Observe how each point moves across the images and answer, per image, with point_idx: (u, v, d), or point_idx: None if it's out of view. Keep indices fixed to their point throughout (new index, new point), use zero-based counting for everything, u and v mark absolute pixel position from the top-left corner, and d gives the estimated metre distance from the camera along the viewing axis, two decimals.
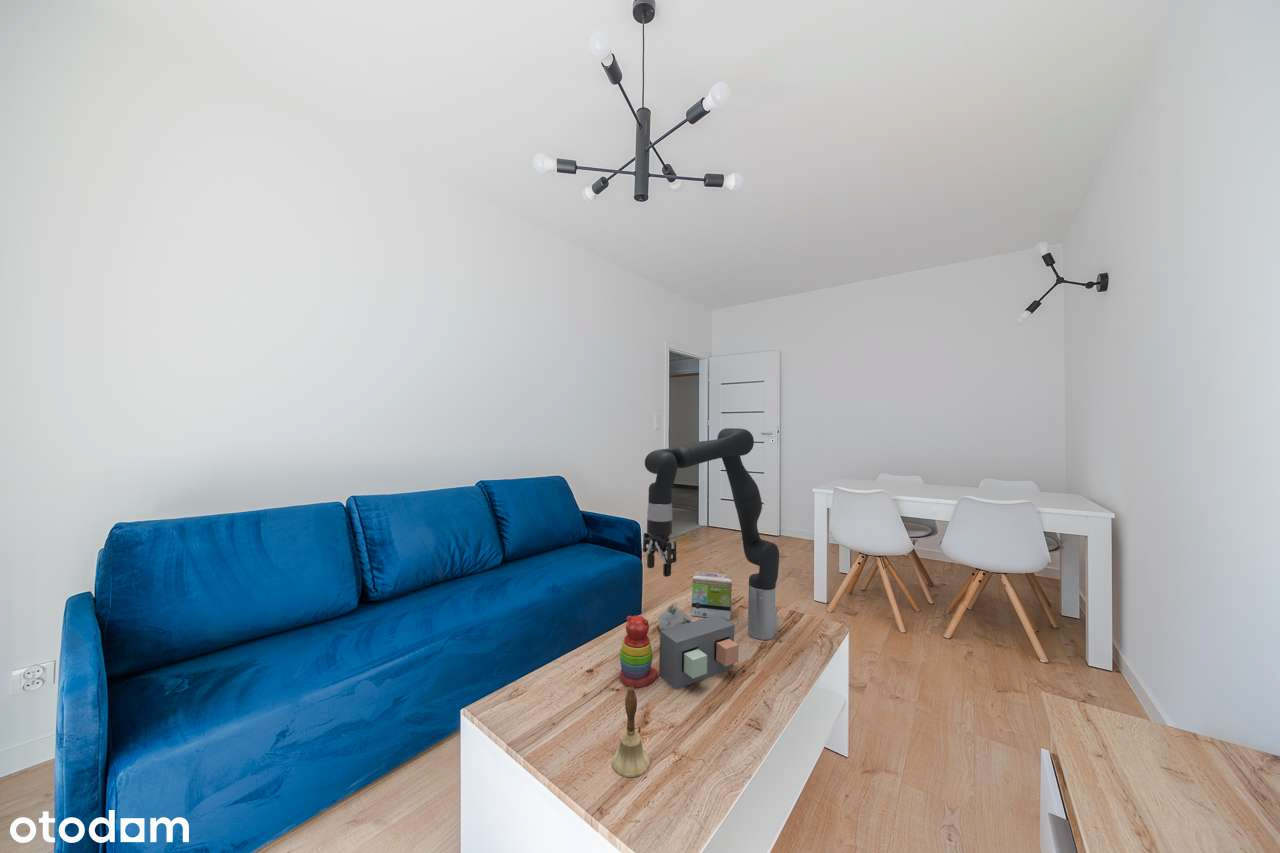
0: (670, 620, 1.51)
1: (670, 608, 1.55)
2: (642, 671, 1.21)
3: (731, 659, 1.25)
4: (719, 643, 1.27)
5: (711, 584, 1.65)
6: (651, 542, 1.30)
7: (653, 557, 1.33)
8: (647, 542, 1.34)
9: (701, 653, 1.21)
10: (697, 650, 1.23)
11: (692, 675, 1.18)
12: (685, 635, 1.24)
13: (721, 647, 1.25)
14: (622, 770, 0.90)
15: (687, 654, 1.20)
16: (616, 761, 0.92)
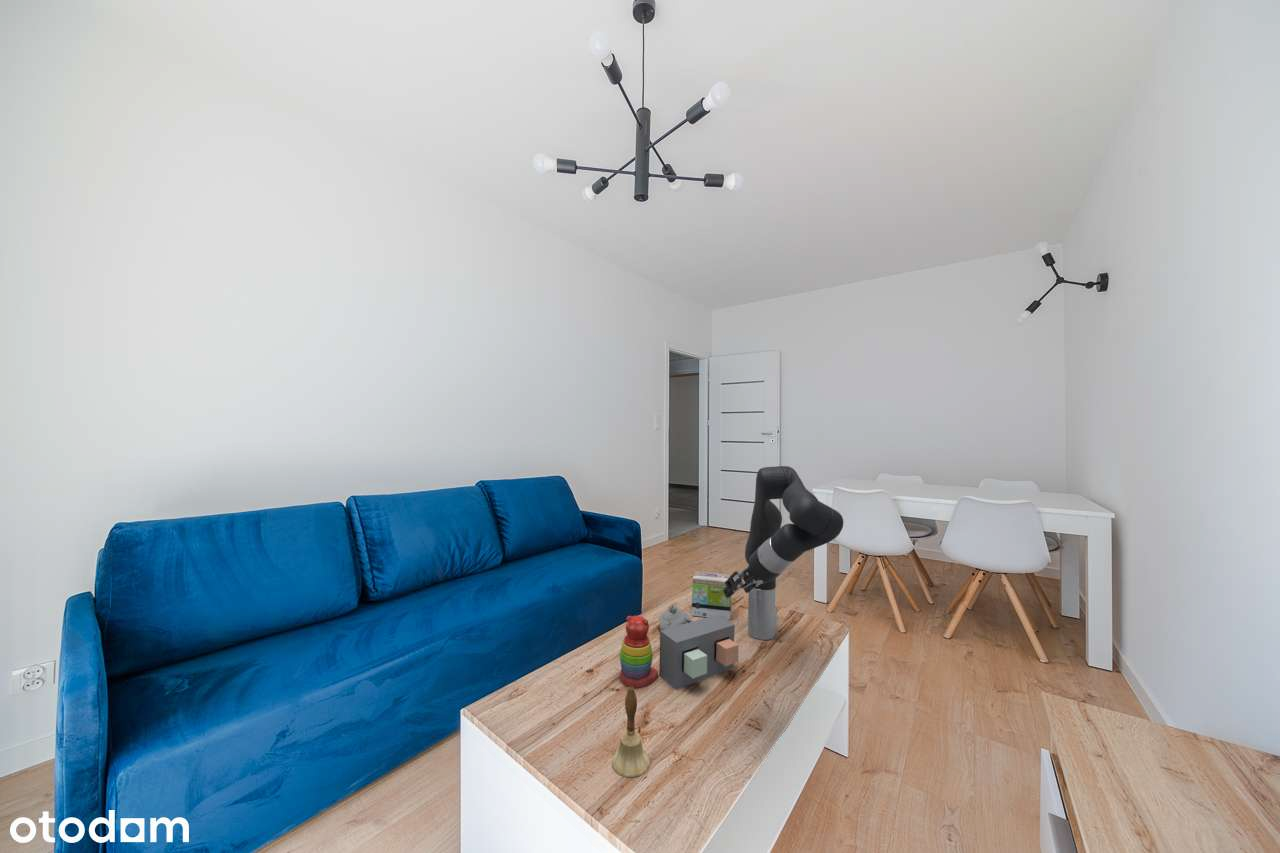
0: (671, 620, 1.51)
1: (671, 608, 1.55)
2: (642, 671, 1.21)
3: (731, 659, 1.25)
4: (719, 643, 1.27)
5: (711, 584, 1.65)
6: (755, 582, 1.05)
7: None
8: None
9: (701, 653, 1.21)
10: (697, 650, 1.23)
11: (692, 675, 1.18)
12: (685, 635, 1.24)
13: (721, 647, 1.25)
14: (622, 770, 0.90)
15: (687, 654, 1.20)
16: (616, 761, 0.92)
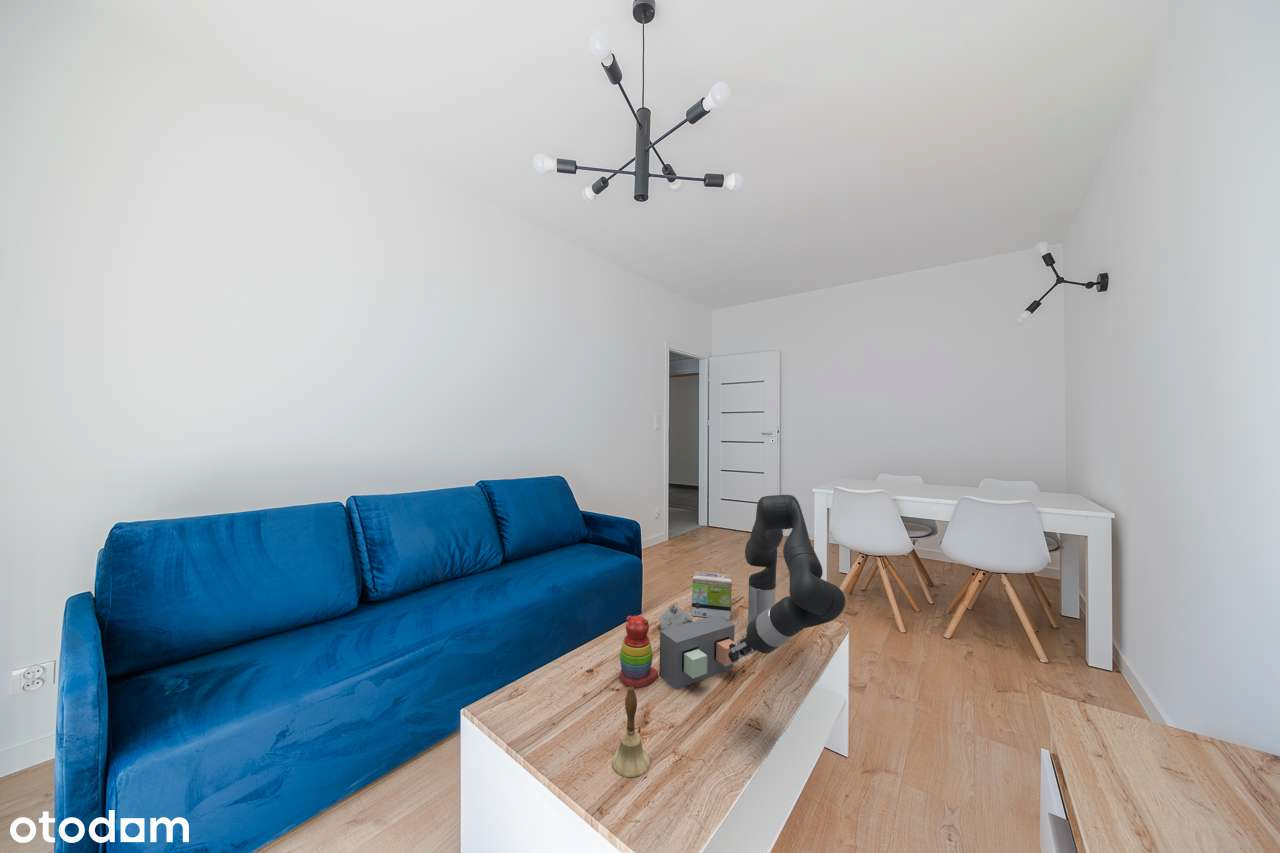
0: (671, 620, 1.52)
1: (672, 608, 1.55)
2: (642, 671, 1.21)
3: None
4: (719, 643, 1.27)
5: (711, 584, 1.65)
6: (754, 651, 1.01)
7: None
8: None
9: (701, 653, 1.21)
10: (697, 650, 1.23)
11: (692, 675, 1.18)
12: (685, 635, 1.24)
13: (721, 647, 1.25)
14: (622, 770, 0.90)
15: (687, 654, 1.20)
16: (616, 761, 0.92)
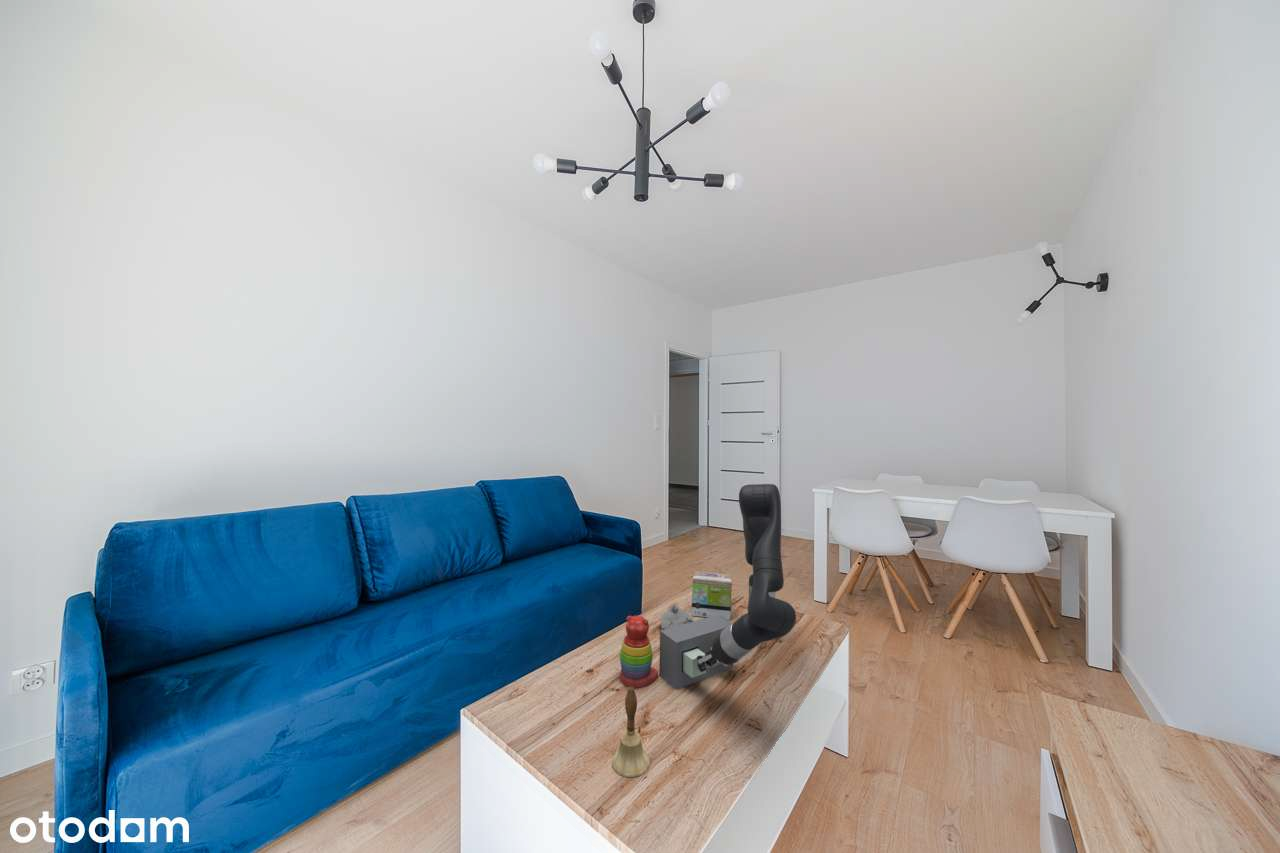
0: (672, 620, 1.52)
1: (672, 608, 1.55)
2: (642, 671, 1.21)
3: None
4: None
5: (711, 584, 1.65)
6: (719, 662, 1.11)
7: None
8: None
9: (701, 653, 1.21)
10: (696, 649, 1.23)
11: (691, 674, 1.18)
12: (685, 635, 1.24)
13: None
14: (622, 770, 0.90)
15: (686, 653, 1.21)
16: (616, 761, 0.92)
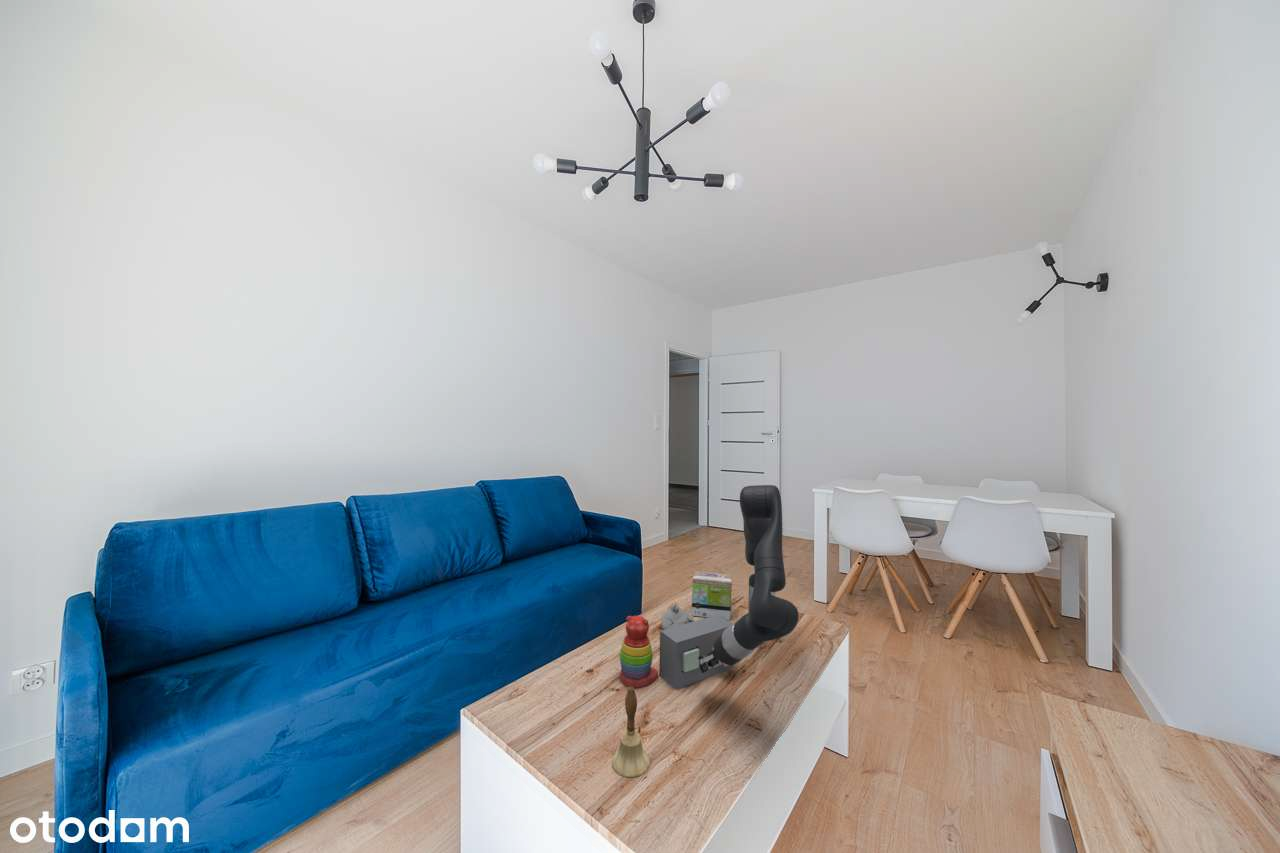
0: (673, 620, 1.52)
1: (673, 608, 1.55)
2: (642, 671, 1.21)
3: None
4: None
5: (711, 584, 1.65)
6: (721, 663, 1.10)
7: None
8: None
9: (694, 648, 1.24)
10: None
11: (684, 669, 1.21)
12: (685, 635, 1.24)
13: None
14: (622, 770, 0.90)
15: None
16: (616, 761, 0.92)
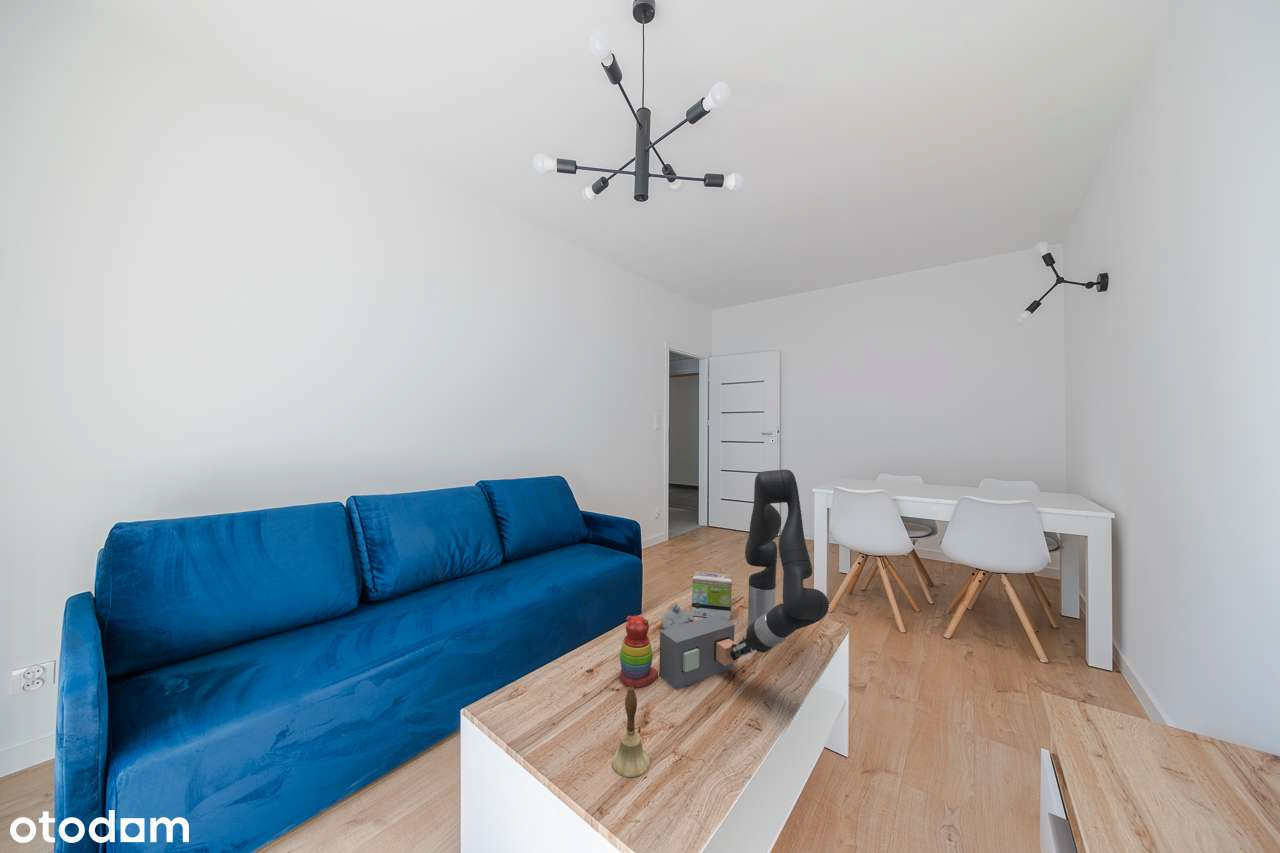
0: (674, 620, 1.52)
1: (674, 608, 1.55)
2: (642, 671, 1.21)
3: (731, 658, 1.25)
4: (719, 643, 1.27)
5: (711, 584, 1.65)
6: (752, 650, 1.17)
7: None
8: None
9: (694, 648, 1.24)
10: None
11: (684, 669, 1.21)
12: (685, 635, 1.24)
13: (721, 647, 1.25)
14: (622, 770, 0.90)
15: None
16: (616, 761, 0.92)
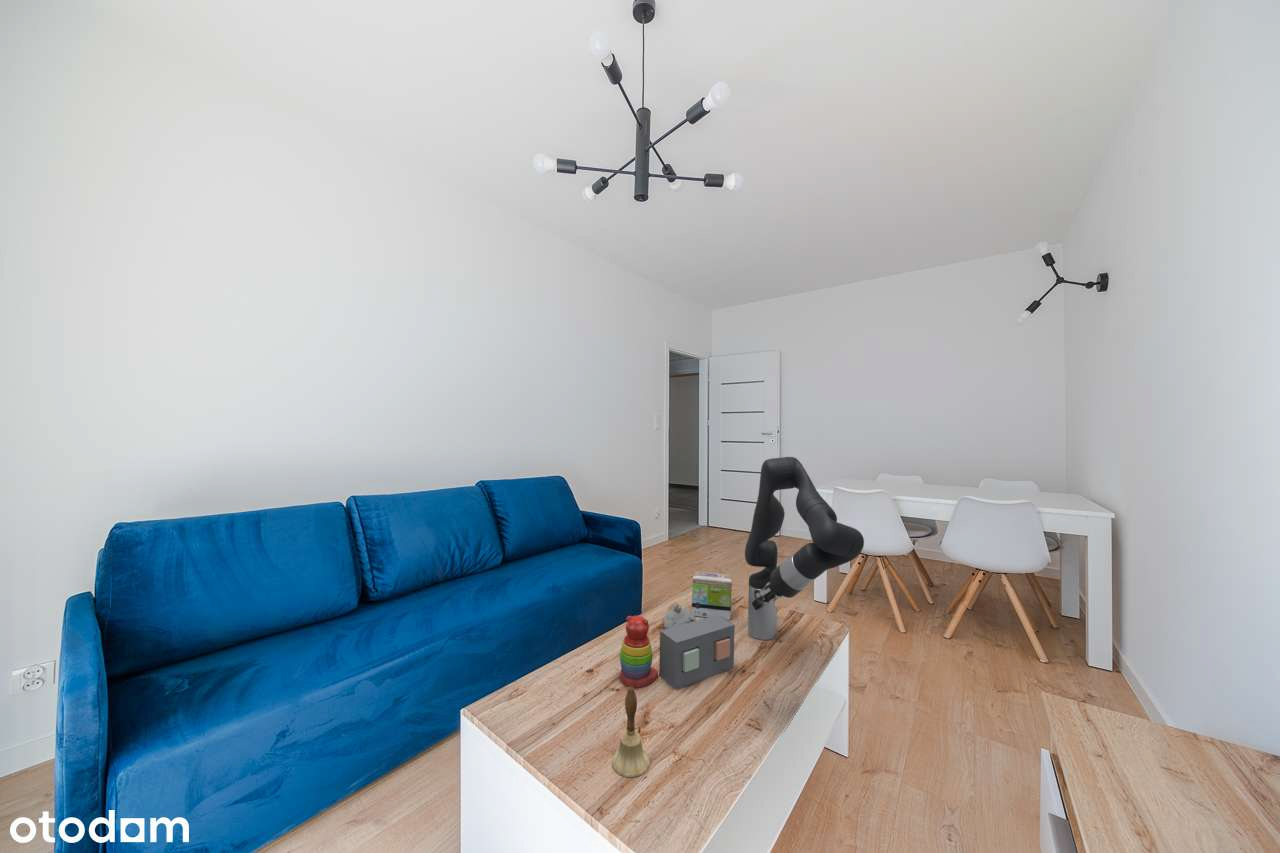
0: (675, 619, 1.52)
1: (675, 607, 1.55)
2: (642, 671, 1.21)
3: (723, 653, 1.28)
4: None
5: (711, 584, 1.65)
6: (777, 597, 1.09)
7: None
8: None
9: (694, 648, 1.24)
10: None
11: (684, 669, 1.21)
12: (685, 635, 1.24)
13: None
14: (622, 770, 0.90)
15: None
16: (616, 761, 0.92)
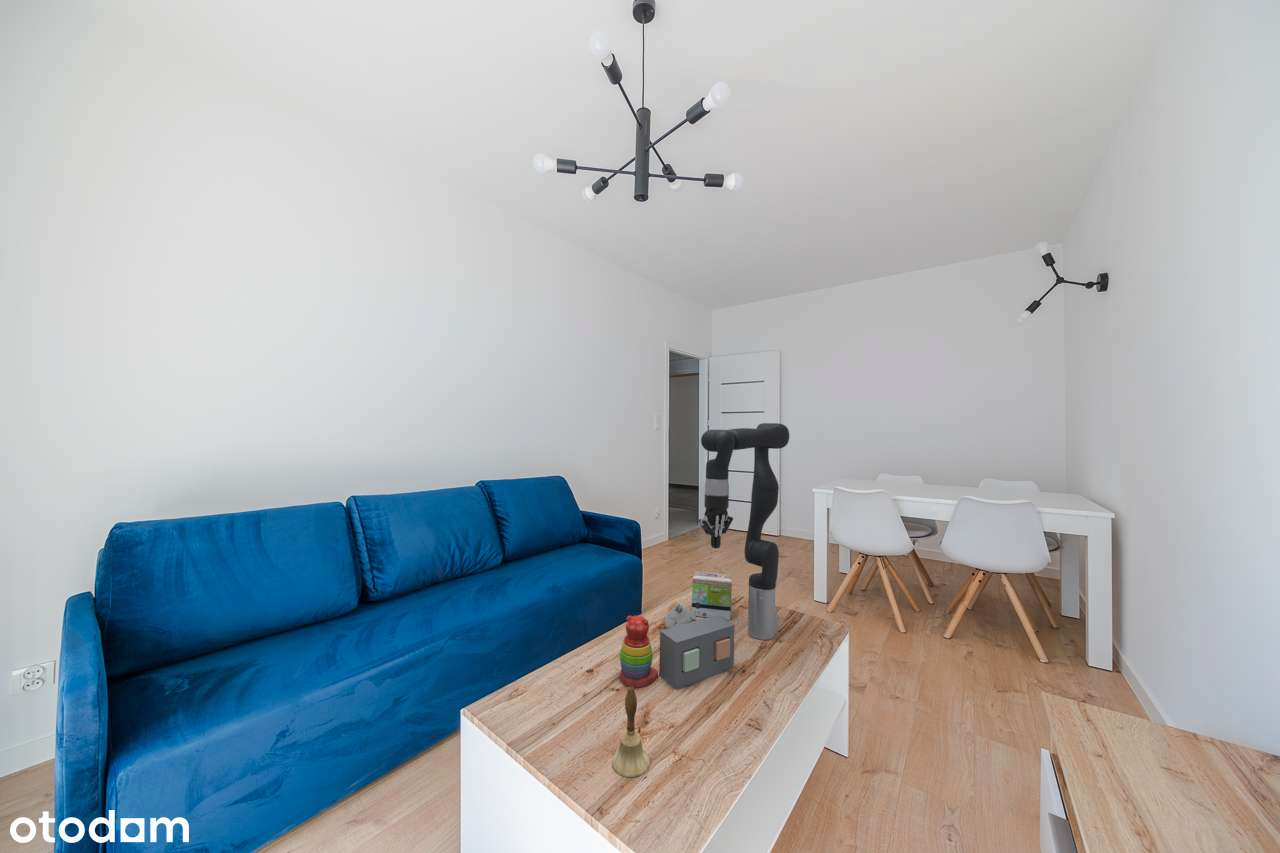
0: (676, 619, 1.52)
1: (677, 607, 1.55)
2: (642, 671, 1.21)
3: (723, 653, 1.28)
4: None
5: (711, 584, 1.65)
6: (717, 517, 1.34)
7: None
8: None
9: (694, 648, 1.24)
10: None
11: (684, 669, 1.21)
12: (685, 635, 1.24)
13: None
14: (622, 770, 0.90)
15: None
16: (616, 761, 0.92)
